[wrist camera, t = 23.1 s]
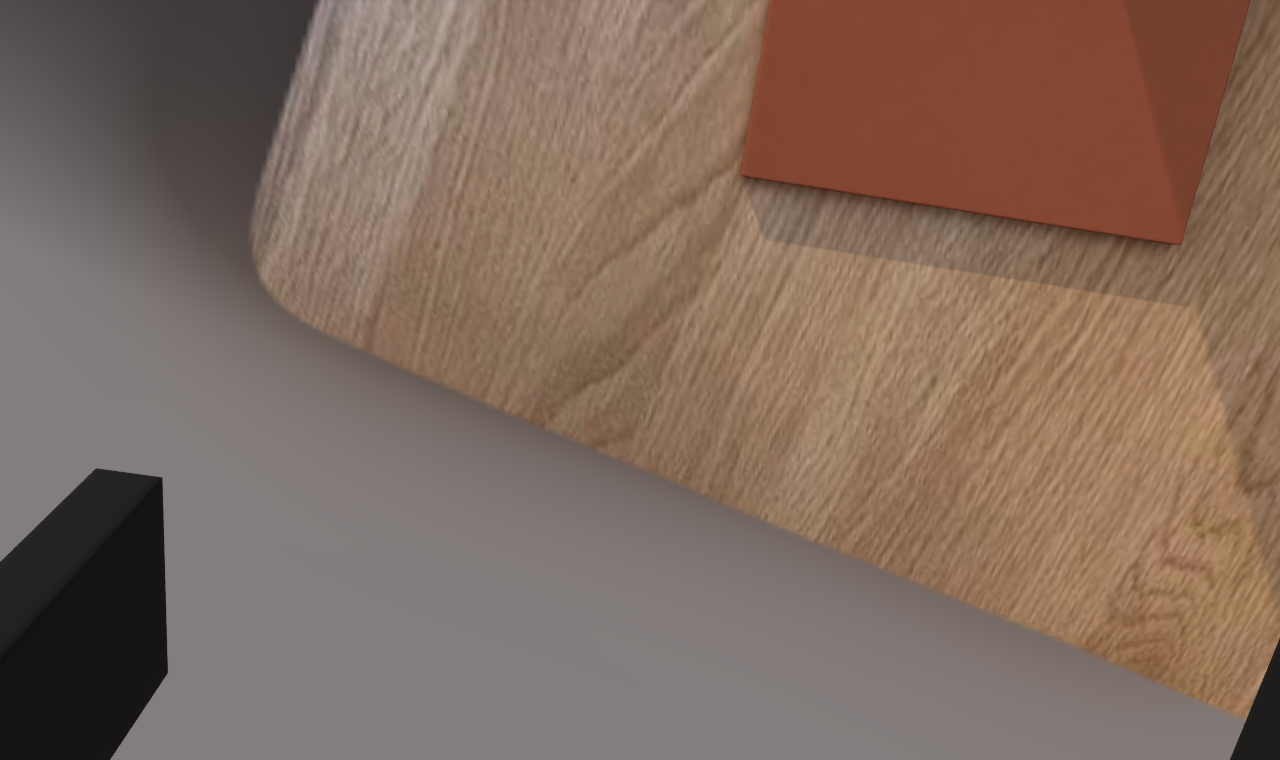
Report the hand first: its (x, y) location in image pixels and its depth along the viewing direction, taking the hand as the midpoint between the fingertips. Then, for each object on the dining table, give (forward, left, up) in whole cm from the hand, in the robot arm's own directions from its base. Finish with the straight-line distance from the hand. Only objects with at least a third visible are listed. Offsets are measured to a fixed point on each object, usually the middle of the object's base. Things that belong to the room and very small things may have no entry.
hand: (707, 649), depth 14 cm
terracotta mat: (+8, +9, -26) cm, 28 cm away
